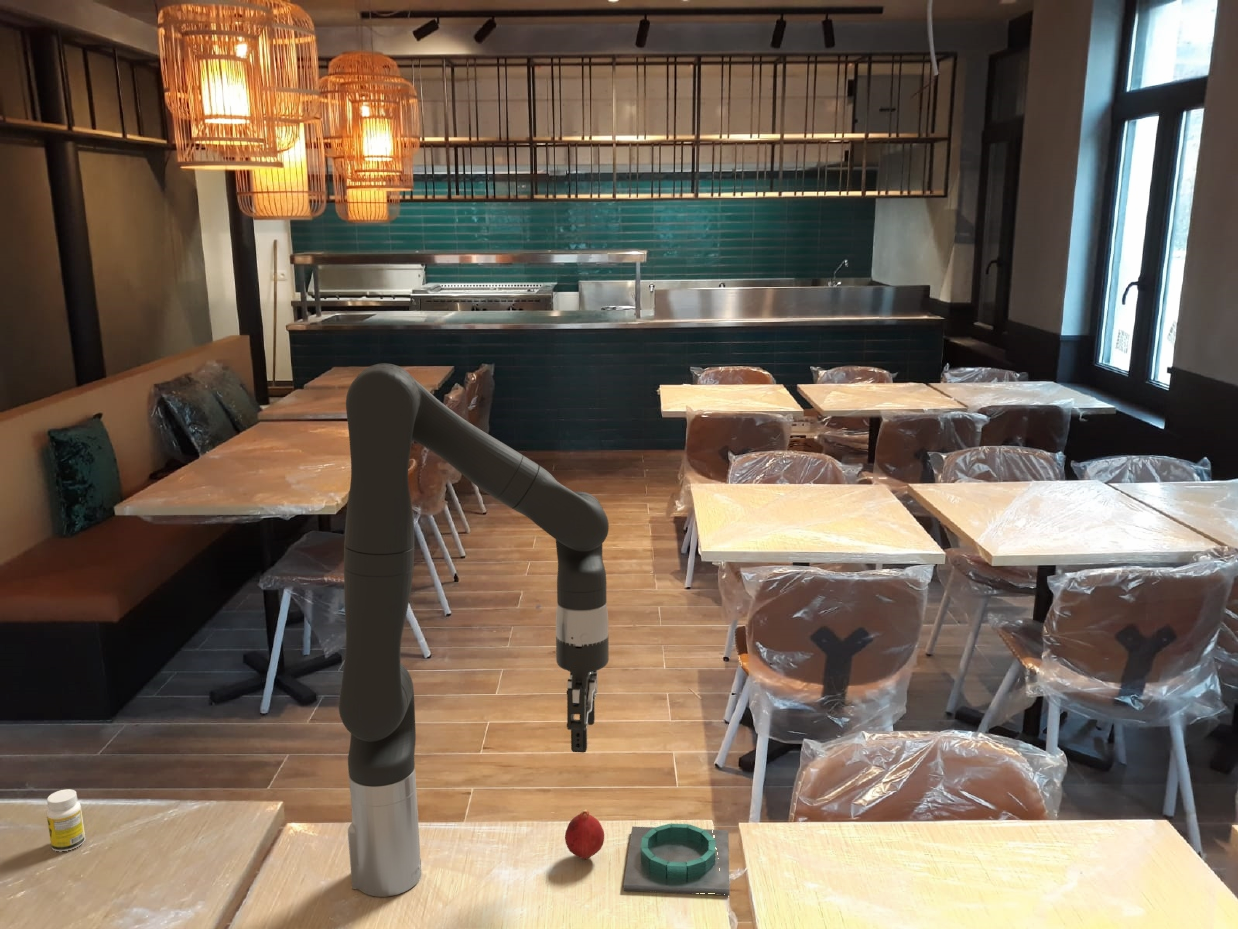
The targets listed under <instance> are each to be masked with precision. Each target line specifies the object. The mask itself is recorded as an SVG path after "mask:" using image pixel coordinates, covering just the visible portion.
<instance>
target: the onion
mask: <svg viewBox="0 0 1238 929" xmlns="http://www.w3.org/2000/svg"><path fill="white" fill-rule="evenodd" d="M564 840H565V844H566V847H567V849H568V851H569V852H570V853H572V854H573V855H574V856H576V857H577V858H580V859H582V860H589V859H590V858H591V857H593V856H594V855H596V854H597V853H598V852H599V851H600V850H602V848H603V845H604V842H605V831H604V828H603V826H602V824H601V822H600V821H599V820H598V819H597V818H595V816H593V815H592V814H590V811H589V809H583V810H582V812H580V813H579V814H578V815H576V816H574V817H573V818H572V819H570V821H569V823H568V824H567V828H566V831H565V834H564Z"/></svg>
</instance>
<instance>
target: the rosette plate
mask: <svg viewBox="0 0 1238 929" xmlns="http://www.w3.org/2000/svg"><path fill="white" fill-rule="evenodd" d="M712 830H713V833H712ZM713 835H715V838H713ZM715 847H716V848H717V850H716V849H715ZM729 848H730V846H729V829H708V828H707V829H705V828H704V829H703V828H701V827H698V826H695V825H693V824H691V823H690V824H689V823H671V822H670V823H667V824H662V825H659V826H655V827H654V826H631V832H630V839H629V846H628V851H627V852H628V853H627V861H626V866H625V874H624V881H623V892H638V893H658V894H659V893H660V894H661V893H664V894H680V895H682V894H683V895H684V894H685V895H686V894H687V895H693V894H692V893H699V894H698V895H701V894H700V893H705V894H708V893H715V894H721V895H720V896H724V897H725V896H727V897H728V896H730V895H731V894H730V892H731V891H730V890H731V889H730V888H731V887H730V853H729V850H730V849H729ZM717 852H718V855H717ZM718 858H719V859H718ZM719 868H720V871H719ZM724 894H725V895H724Z"/></svg>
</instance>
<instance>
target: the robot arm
mask: <svg viewBox="0 0 1238 929" xmlns="http://www.w3.org/2000/svg"><path fill="white" fill-rule="evenodd" d="M351 382H352V383H351V384H350V386H349V388H348V390H347V394H346V396H345V397H346V399H345V411H346V418H347V428H348V438H349V451H350V468H351V469H350V484H349V491H348V492H349V493H348V499H347V504H346V505H347V506H346V516H345V529H344V530H345V532H344V547H343V548H344V549H343V552H344V553H343V582H344V583H343V584H344V585H343V586H344V588H343V593H344V620H345V651H344V652H345V653H344V662H343V670H342V678H341V685H340V686H341V687H340V692H339V698H338V714H339V717H340V719H341V722H342V724H343V726H344V727H345V729H346V730H347V731H348V732H349V733H350V740H349V750H348V756H347V769H348V779H349V780H348V782H349V791H350V792H349V793H350V794H349V795H350V805H351V818H352V819H351V820H352V822H351V823H350V825H349V826H348V828H347V839H348V840H347V841H348V851H349V864H350V865H349V867H350V878H351V889H353V890H354V889H355V890H359V891H361V892H362V893H364V894H366V895H368V896H373V897H380V898H383V897H385V898H386V897H392V896H396V895H400V894H404V893H405V892H407V891H409V890H411V889H412V888H413V887H414V886H416V884H418V883H419V881H420V880H421V877H422V858H421V844H420V828H419V812H418V810H419V809H418V798H417V797H418V795H417V794H418V793H417V781H416V779H417V778H416V767H415V766H416V765H415V764H416V763H415V752H416V737H417V734H416V732H417V731H416V711H415V710H416V708H415V707H416V706H415V692H414V683H413V680H412V677H411V674H410V673H409V671H408V669H407V668H406V667H405V666H404V665H403V664H402V663H401V649H402V648H401V647H402V637H403V631H404V627H405V622H406V618H407V613H408V608H409V603H410V598H411V593H412V585H413V584H412V583H413V579H414V578H413V577H414V576H413V575H414V564H415V563H414V562H415V527H414V523H415V522H414V513H413V505H412V499H411V498H412V497H411V492H410V491H411V490H410V484H409V467H410V458H411V457H410V456H411V449H412V448H411V447H412V441H413V442H415V443H417V444H419V445H421V446H422V447H424V448H426V449H428V450H429V451H431V452H433V453H434V454H435V455H437V456H438V457H439V458H441V459H442V460H443V461H445V462H446V463H448V465H450V466H451V467H452V468H454V469H455V470H456V471H458V472H459V473H460V474H462V475H463V476H464V477H465V478H466V479H467V480H468V481H469V482H471V483H472V484H473V485H475V486H476V487H477V488H479V489H480V490H481V491H482V492H484V493H486V494H488V495H489V496H490V497H492V498H494V499H496V500H497V501H498V502H500V503H502V504H504V505H505V506H507V507H509V508H510V509H511V510H513V511H516V512H517V513H519V514H522V515H523V516H524V517H526V518H527V519H529V520H530V521H532V522H533V523H534V524H535V525H536V526H538V527H539V528H540V529H542V530H543V531H544V532H545V533H547V534H548V535H549V536H551V537H552V538H553V539H555V546H556V547H555V548H556V556H557V557H556V558H557V576H556V577H557V578H556V597H557V598H556V602H557V603H556V604H557V605H556V613H555V647H556V649H555V654H556V656H555V661H556V664H557V666H558V667H560V669H563V670H564V671H568V672H570V674H569V678H567V684H566V685H567V686H566V688H567V690H566V700H567V702H566V703H567V704H566V707H567V709H566V715H567V716H566V719H567V720H566V722H567V723H566V728H567V730H569V731H570V748H571V749H570V750H571V752H573V753H580V754H581V753H586V752H587V750H588V727H589V726H592V725H594V724H595V721H596V715H595V714H596V711H595V710H596V709H595V705H596V704H595V702H596V701H595V700H596V698H597V693H598V688H599V685H598V684H599V683H598V679H599V673H598V671H600V670H602V669H603V668H605V667H606V666H607V665H608V663H609V659H610V658H609V655H610V654H609V650H610V648H609V646H610V645H609V641H610V640H609V612H608V603H607V584H608V583H607V573H606V569H605V565H604V560H603V544H604V542H605V541H606V539H607V537H608V534H609V528H610V526H609V525H610V524H609V520H608V516H607V514H606V512H605V510H604V508H603V506H602V505H601V503H600V501H599V500H598V499H597V497H595V496H593V495H592V494H591V493H588V492H585V491H573V490H571V489H570V488H568V487H567V486H565V485H563V484H562V483H560V482H559V481H558V480H556V478H555V477H554V476H553V475H552V474H551V473H550V472H549V471H548V470H546V469H545V468H544V467H543V466H541V465H539V464H538V463H536V462H535V461H534V460H531V459H530V458H528V457H527V456H525V455H523V454H522V453H520V452H518V451H517V450H515V449H513V448H512V447H510V446H509V445H507V444H505V443H504V442H502V441H500V440H499V439H497V438H495V437H493V436H492V435H490V434H488V433H486V432H485V431H483V430H481V429H480V428H479V427H477V426H475V425H473V424H472V423H470V422H469V421H468V420H465V419H464V418H463V417H462V416H460V415H459V414H457V413H456V412H455V411H454V410H452V409H450V408H449V407H448V406H447V405H445V404H444V403H443V402H441V400H439V399H437V398H436V396H434V395H433V394H432V393H431V392H429V390H427V389H426V388H425V387H424V386H423V385H422V384H420V383H419V381H417V380H416V378H414V377H413V376H412V375H411V374H410V372H408V371H407V370H405V369H404V368H402V367H401V366H399V365H395V364H392V363H385V362H384V363H383V362H382V363H377V364H373V365H370V366H368V367H367V368H365V369H363V370H361V372H360V373H358V375H357V376H356V377H355V378H354V380H353V381H351ZM575 715H579V719H575Z"/></svg>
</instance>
